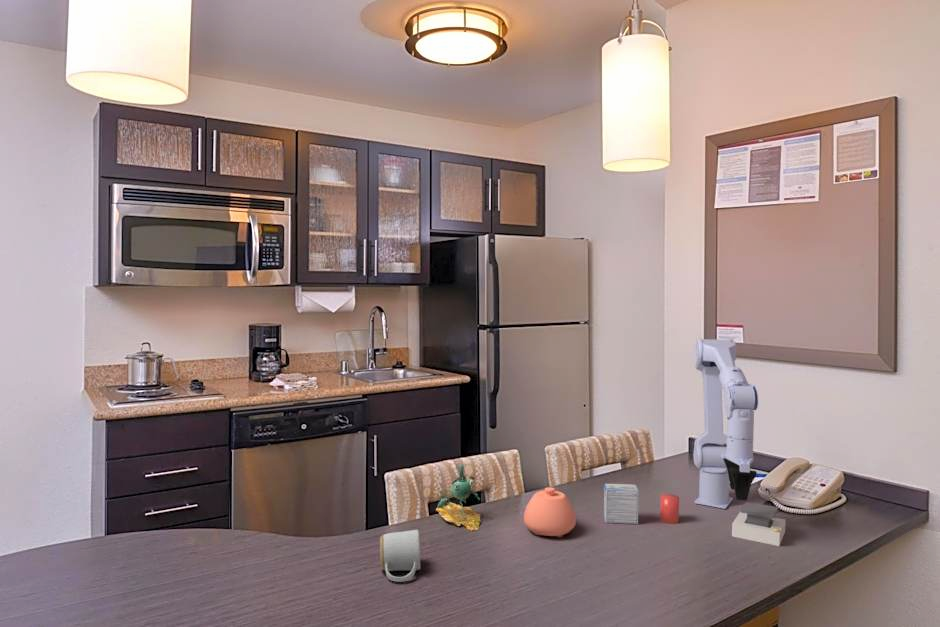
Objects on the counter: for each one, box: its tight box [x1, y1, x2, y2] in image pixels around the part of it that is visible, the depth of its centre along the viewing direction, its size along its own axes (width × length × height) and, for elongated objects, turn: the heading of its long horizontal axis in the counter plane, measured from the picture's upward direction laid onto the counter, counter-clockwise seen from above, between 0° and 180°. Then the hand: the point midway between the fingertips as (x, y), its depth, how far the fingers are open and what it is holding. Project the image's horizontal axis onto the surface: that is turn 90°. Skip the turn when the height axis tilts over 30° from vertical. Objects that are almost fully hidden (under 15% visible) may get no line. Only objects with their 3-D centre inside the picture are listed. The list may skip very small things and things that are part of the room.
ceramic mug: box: [379, 529, 421, 582], centre depth 128 cm, size 11×8×8 cm
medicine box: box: [603, 483, 640, 525], centre depth 157 cm, size 8×4×9 cm, turn 84°
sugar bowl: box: [523, 486, 577, 538], centre depth 151 cm, size 12×14×10 cm
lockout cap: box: [659, 493, 680, 525], centre depth 158 cm, size 4×4×6 cm
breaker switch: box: [740, 501, 779, 528], centre depth 149 cm, size 7×7×4 cm
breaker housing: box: [731, 510, 787, 547], centre depth 149 cm, size 10×10×4 cm
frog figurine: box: [435, 463, 482, 532], centre depth 158 cm, size 10×18×15 cm, turn 26°
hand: (738, 494), depth 149 cm, fingers open, 7 cm apart
